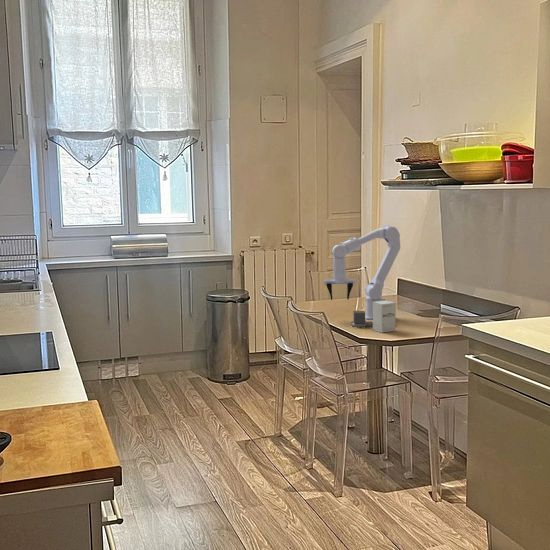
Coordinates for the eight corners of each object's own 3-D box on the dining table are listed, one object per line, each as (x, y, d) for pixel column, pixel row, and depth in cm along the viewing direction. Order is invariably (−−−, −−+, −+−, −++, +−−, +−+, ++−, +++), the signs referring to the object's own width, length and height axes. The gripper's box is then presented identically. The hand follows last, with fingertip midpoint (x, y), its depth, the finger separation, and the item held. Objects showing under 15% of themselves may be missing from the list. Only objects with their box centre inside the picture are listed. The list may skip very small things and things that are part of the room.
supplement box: (381, 333, 300) (381, 304, 299) (372, 329, 307) (372, 301, 305) (396, 331, 303) (396, 302, 301) (386, 328, 310) (386, 299, 308)
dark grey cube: (364, 321, 318) (364, 310, 317) (365, 324, 313) (365, 313, 312) (353, 321, 318) (353, 311, 317) (354, 324, 313) (353, 313, 312)
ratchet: (393, 323, 319) (393, 315, 318) (395, 327, 311) (395, 318, 310) (350, 324, 320) (350, 315, 319) (351, 328, 312) (351, 319, 311)
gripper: (323, 272, 325) (324, 301, 327) (355, 271, 324) (355, 300, 326) (323, 270, 332) (324, 298, 334) (354, 269, 331) (354, 297, 333)
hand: (339, 299), depth 330 cm, fingers open, 7 cm apart
